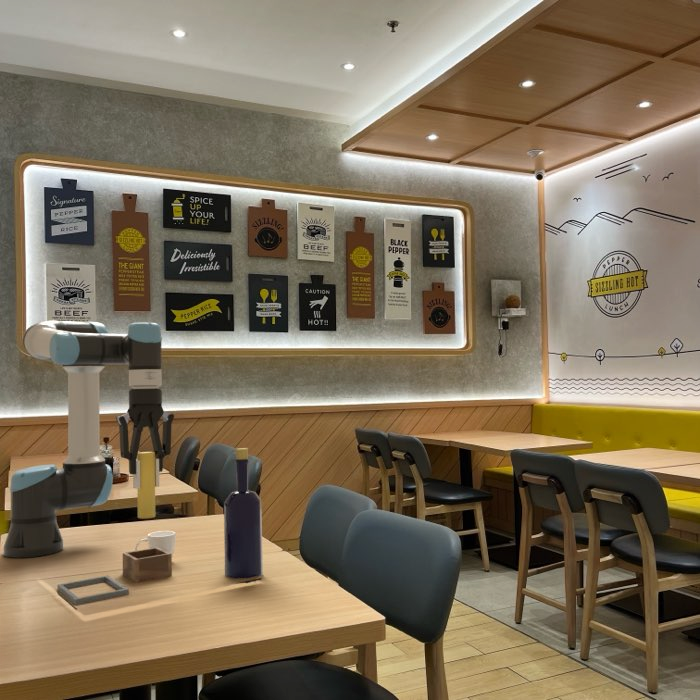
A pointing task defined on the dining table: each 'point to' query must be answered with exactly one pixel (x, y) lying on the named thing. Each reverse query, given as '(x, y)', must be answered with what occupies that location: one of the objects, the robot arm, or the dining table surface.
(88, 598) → the tray
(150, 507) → the dowel
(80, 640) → the dining table surface
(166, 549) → the cup
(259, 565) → the bottle
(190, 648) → the dining table surface
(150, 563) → the holder
